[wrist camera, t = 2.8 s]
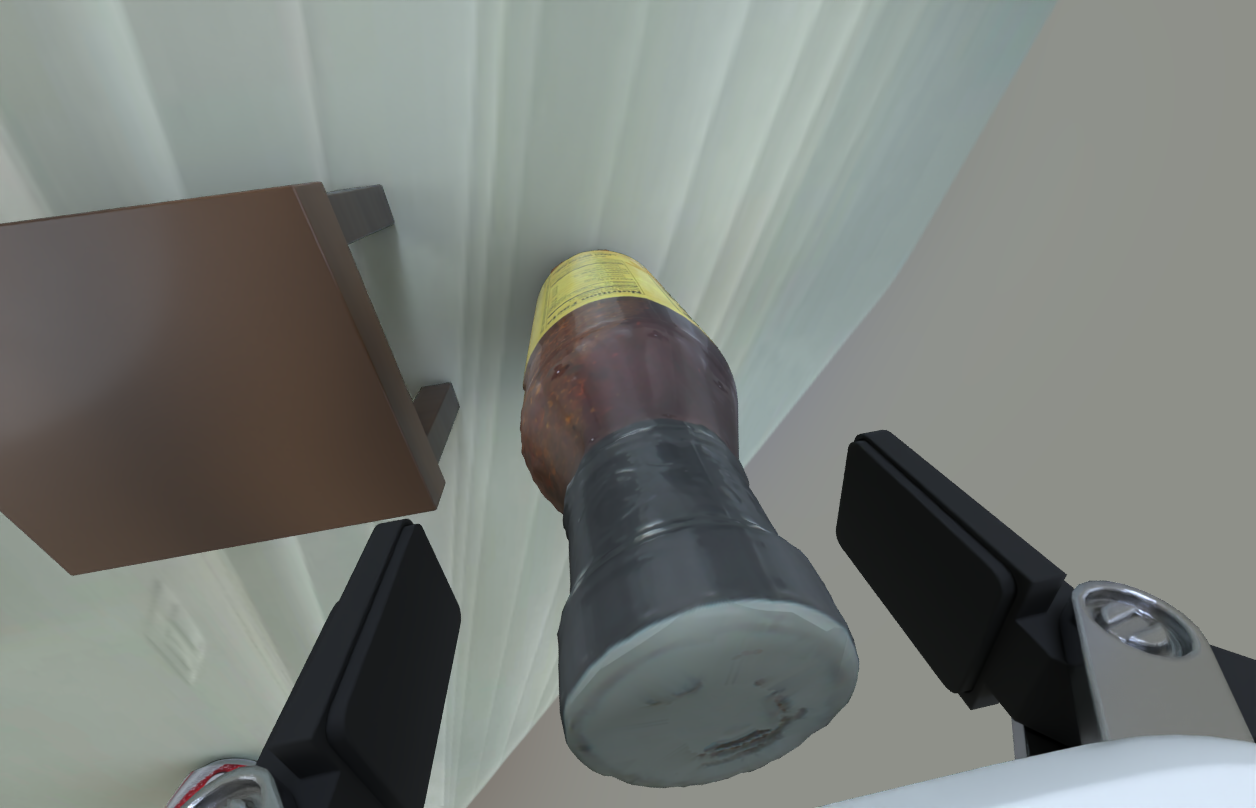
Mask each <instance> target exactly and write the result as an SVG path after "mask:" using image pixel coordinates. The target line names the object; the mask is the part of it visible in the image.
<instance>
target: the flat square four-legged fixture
mask: <svg viewBox="0 0 1256 808" xmlns="http://www.w3.org/2000/svg"><path fill="white" fill-rule="evenodd" d="M394 223H395V222H394V219H393V216H392V213H391V210H390V207H389V205H388V202H387V199H386V196H385V193H384V190H383V188H382V186H381V185H372V186H365V187H357V188H350V189H343V190H338V191H332V192H327V193H326V191H325V189H324V186H323V184H322V183H321V182H319V181H318V182H310V183H303V184H295V185H287V186H280V187H272V188H265V189H257V190H250V191H242V192H235V193H227V194H220V195H212V196H205V197H197V198H190V199H182V200H175V201H167V202H160V203H152V204H145V205H137V206H130V207H122V208H115V209H107V210H100V211H92V212H85V213H77V214H70V215H62V216H55V217H47V218H40V219H32V220H25V221H17V222H10V223H2V224H0V511H1V512H2V513H3V514H4V515H5V516H6V517H7V518H8V519H10V520H11V521H12V522H13V523H14V524H15V525H16V526H17V527H18V528H19V529H21V530H22V531H23V532H24V533H25V534H26V535H27V536H28V537H29V538H30V539H32V540H33V541H34V542H35V543H36V544H37V545H38V546H39V547H40V548H42V549H43V550H44V551H45V552H46V553H47V554H48V555H49V556H50V557H51V558H53V559H54V560H55V561H56V562H57V563H58V564H59V565H60V566H61V567H62V568H64V569H65V570H66V571H67V572H68V573H69V574H70V575H72V576H74V575H79V574H85V573H90V572H96V571H102V570H107V569H113V568H118V567H124V566H129V565H135V564H140V563H146V562H151V561H157V560H163V559H168V558H174V557H179V556H185V555H190V554H196V553H201V552H207V551H212V550H218V549H224V548H229V547H235V546H240V545H246V544H251V543H257V542H262V541H268V540H273V539H279V538H284V537H290V536H296V535H301V534H307V533H312V532H318V531H323V530H329V529H334V528H340V527H345V526H351V525H357V524H362V523H368V522H373V521H379V520H384V519H390V518H395V517H401V516H406V515H412V514H418V513H423V512H429V511H434V510H436V509H437V507H438V504H439V501H440V498H441V495H442V492H443V489H444V486H445V480H444V477H443V475H442V472H441V470H440V468H439V465H438V463H439V461H440V458H441V455H442V453H443V450H444V447H445V445H446V442H447V440H448V437H449V434H450V432H451V429H452V426H453V424H454V421H455V418H456V416H457V413H458V410H459V408H460V406H459V403H458V400H457V397H456V395H455V392H454V389H453V386H452V383H444V384H437V385H431V386H425V387H422V388H421V389H420V391H419V393H418V395H417V396H416V398H415V400H414V402H412V400H411V397H410V395H409V392H408V390H407V388H406V385H405V383H404V380H403V378H402V375H401V373H400V371H399V368H398V366H397V363H396V361H395V359H394V356H393V354H392V351H391V349H390V346H389V344H388V342H387V339H386V337H385V334H384V332H383V329H382V327H381V325H380V322H379V320H378V317H377V315H376V312H375V310H374V308H373V305H372V303H371V300H370V298H369V295H368V293H367V291H366V288H365V286H364V283H363V281H362V278H361V276H360V274H359V271H358V269H357V266H356V264H355V262H354V259H353V257H352V254H351V252H350V249H349V247H348V244H350V243H353V242H355V241H357V240H359V239H361V238H364V237H366V236H368V235H370V234H373V233H375V232H377V231H379V230H381V229H384V228H386V227H388V226H390V225H392V224H394Z"/></svg>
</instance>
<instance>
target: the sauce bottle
mask: <svg viewBox="0 0 1256 808" xmlns="http://www.w3.org/2000/svg"><path fill="white" fill-rule="evenodd" d="M523 390H524V391H525V394H524V402H523V407H522V411H521V423H520V424H521V425H520V431H521V443H522V452H521V453H522V455H523V457H524V459H525V462H526V465H527V467H528V469H529V471H530V473H531V475H532V478H533V481H534V482H535V483H536V484H537V486H538V488H539V489H540V491H541V493H542V494H543V495H544V497H545V498H546V499H547V500H549V501H550V502H551V503H552V504H553V506H554V507H555V508H556V509H557V511H559V512H561V513H562V514H563V526H564V529H565V530H566V536H567V539H568V540H569V563H570V595H569V597H568V600H567V602H566V604H565V606H564V609H563V611H562V616H561V622H560V626H559V629H558V633H557V636H558V647H559V663H558V670H559V699H560V715H561V720H562V725H563V729H564V734H565V739H566V743H567V744H568V747H569V748H570V750H571V751H572V752H573V753H574V755H575V756H576V757H577V758H578V759H579V760H580V761H581V762H582V763H583V764H584V765H586V766H587V767H588V768H589V769H591V770H592V771H595V772H596V773H599V774H601V775H604V776H613V777H615V778H617V779H619V780H621V781H624V782H626V783H629V784H632V785H638V786H646V787H654V788H655V787H656V788H667V787H686V786H690V785H703V784H707V783H711V782H716V781H720V780H724V779H728V778H730V777H733V776H735V775H737V774H740V773H745V772H751V771H754V770H756V769H758V768H761V767H763V766H765V765H766V764H768V763H769V762H771V761H774V760H776V759H779V758H781V757H782V756H783V755H785V754H787V753H788V752H790V751H792V750H793V749H794V748H796V747H798V746H799V745H801V744H802V743H803V742H804V741H805V740H806V739H807V738H808V737H809V736H810V735H811V734H813V733H815V732H816V731H818V730H820V729H821V728H823V727H825V726H827V725H828V724H829V723H830V721H831V720H832V719H833V718H834V717H835V716H836V714H837V713H838V712H839V711H840V710H841V709H842V708H843V707H844V706H845V705H846V704H847V703H848V702H849V700H850V698H851V696H852V693H853V692H854V689H855V686H856V682H857V677H858V672H859V658H858V655H857V651H856V647H855V643H854V639H853V637H852V635H851V632H850V630H849V628H848V625H847V623H846V622H845V620H844V619H843V617H842V615H841V614H840V612H839V610H838V609H837V607H836V606H835V604H834V602H833V599H832V597H831V595H830V594H829V592H828V590H827V588H826V587H825V584H824V583H823V581H822V580H821V579H820V577H819V575H818V574H817V572H816V571H815V569H814V568H813V566H812V564H811V563H810V562H809V560H808V558H807V557H806V556H805V555H804V554H803V553H802V552H801V551H800V550H799V549H797V548H796V547H794V546H793V545H791V544H790V543H788V542H787V541H786V540H785V539H783V538H782V537H780V536H778V534H777V532H776V530H775V529H774V527H773V526H772V524H771V522H770V521H769V519H768V517H767V516H766V514H765V512H764V511H763V509H762V507H761V505H760V504H759V502H758V500H757V498H756V497H755V496H754V494H753V492H752V491H751V490H750V488H749V481H748V478H747V476H746V474H745V472H744V469H743V467H742V465H741V463H740V461H739V444H738V398H737V390H736V385H735V382H734V378H733V375H732V373H731V370H730V368H729V365H728V363H727V362H726V360H725V358H724V357H723V355H722V354H721V352H720V350H719V349H718V347H717V346H716V345H715V344H714V343H713V341H712V340H711V339H710V338H709V337H708V336H707V335H706V333H705V332H704V331H703V330H702V329H701V328H700V327H699V325H698V324H697V323H696V322H694V321H693V320H692V318H691V317H690V316H689V315H688V314H687V313H686V311H685V310H684V309H683V308H682V307H681V306H680V305H679V304H678V303H677V302H676V301H675V300H674V299H673V298H672V297H671V295H670V294H669V293H668V292H667V291H666V290H665V289H664V288H663V287H662V285H661V284H660V283H659V282H658V281H657V280H656V279H655V278H654V277H653V276H652V275H651V274H650V272H649V271H648V270H647V269H646V268H645V267H643V266H642V265H641V264H640V263H639V262H637V261H636V260H634V259H632V258H630V257H628V256H626V255H623V254H620V253H616V252H611V251H608V250H596V251H588V252H582V253H579V254H577V255H575V256H573V257H571V258H569V259H567V260H566V261H564V262H561V263H560V264H559V265H558V266H556V267H555V268H554V269H553V270H552V271H551V274H550V275H549V277H548V278H547V279H546V281H545V283H544V284H543V286H542V288H541V291H540V293H539V296H538V299H537V304H536V309H535V316H534V321H533V326H532V332H531V338H530V344H529V349H528V355H527V361H526V367H525V372H524V380H523Z"/></svg>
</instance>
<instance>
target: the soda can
mask: <svg viewBox="0 0 1256 808" xmlns="http://www.w3.org/2000/svg"><path fill="white" fill-rule="evenodd" d="M256 763H257V762H256V761H252V760H247V759H223V760H218V761H215V762H212V763H210V764H208V765H207V766H205V767H202V768H199V769H197V770H195V771H193V772H191V773H189V774H188V775H187V776H186V777H185V779H184V780H183V782H182V783H181V784H180V786H179V787H178V789H177V790H176V792H175V793H174V794H173V796H172V797H171V799H170V800H169V802H168V803H167V805H166V806H165V808H180V807H181V806H182V805H183V804H184V803H185V802H186V801H187V800H188V799H190V798H191V797H192V796H193V795H194V794H195V793H196V792H197V791H199V790H200V789H201V788H202V787H204V786H205V785H207V784H208V783H210V782H211V781H213V780H214V779H216V778H217V777H219V776H220V775H222V774H224V773H227V772H229V771H231V770H234V769H236V768H238V767H243V766H251V765H256Z"/></svg>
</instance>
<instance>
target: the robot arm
mask: <svg viewBox="0 0 1256 808" xmlns="http://www.w3.org/2000/svg"><path fill="white" fill-rule="evenodd" d="M836 536H837V539H838V542H839V544H840V546H841V547H842V549H843V550H844V551H845V552H846V554H847V555H848V557H849V558H850V559H851V561H852V562H853V563H854V565H855V566H856V567H857V569H858V570H859V572H860V573H861V574H862V576H863V577H864V578H865V580H866V581H867V582H868V584H869V585H870V586H871V588H872V589H873V590H874V592H875V593H876V594H877V596H878V597H879V598H880V600H881V601H882V602H883V604H884V605H885V606H886V608H887V609H888V610H889V612H890V613H891V615H892V616H893V617H894V619H895V620H896V621H897V623H898V624H899V625H900V627H901V628H902V629H903V631H904V632H905V633H906V635H907V636H908V637H909V639H910V640H911V641H912V643H913V644H914V646H915V647H916V648H917V649H918V651H919V652H920V654H921V655H922V656H923V658H924V659H925V660H926V662H927V663H928V664H929V666H930V667H931V668H932V670H933V671H934V672H935V674H936V675H937V676H938V678H939V679H940V680H941V682H942V683H943V684H944V685H945V687H946V688H947V689H949V690H950V691H951V692H953V693H958V694H959V695H960V697H961V698H962V699H963V700H964V702H965V703H966V704H967V706H968V707H969V708H970V710H973V709H977V708H981V707H986V706H990V705H995V704H998V703H1000V704H1001V705H1002V706H1003V707H1004V709H1005V710H1006V711H1007V712H1008V714H1009V715H1010V716H1011V718H1012V729H1013V741H1014V752H1015V760H1012V761H1008V762H1003V763H999V764H994V765H990V766H986V767H981V768H977V769H973V770H969V771H965V772H961V773H957V774H952V775H948V776H944V777H940V778H936V779H932V780H928V781H923V782H919V783H915V784H911V785H907V786H902V787H898V788H894V789H890V790H886V791H882V792H878V793H873V794H870V795H865V796H861V797H857V798H852V799H849V800H844V801H840V802H836V803H832V804H828V805H824V806H820V807H816V808H1256V660H1254V659H1251V658H1248V657H1245V656H1242V655H1239V654H1236V653H1233V652H1230V651H1227V650H1224V649H1221V648H1218V647H1215V646H1212V645H1209V643H1208V641H1207V639H1206V638H1205V636H1204V635H1203V633H1202V632H1201V631H1200V629H1199V628H1198V627H1197V626H1196V625H1195V624H1194V623H1193V622H1192V621H1191V620H1190V619H1189V618H1187V617H1186V616H1185V615H1184V614H1183V613H1181V612H1180V611H1179V610H1177V609H1176V608H1174V607H1173V606H1171V605H1170V604H1168V603H1166V602H1165V601H1163V600H1161V599H1159V598H1157V597H1155V596H1153V595H1151V594H1149V593H1147V592H1145V591H1142V590H1139V589H1137V588H1134V587H1130V586H1128V585H1125V584H1120V583H1115V582H1110V581H1088V582H1085V583H1082V584H1079V585H1078V586H1077V587H1076V588H1075V589H1073V587H1071V586H1070V585H1069V584H1068V583H1066V582H1065V581H1064V579H1065V577H1066V575H1067V574H1065V573H1064V572H1063V571H1062V570H1060V569H1059V568H1058V567H1057V566H1055V565H1054V564H1053V563H1052V562H1050V561H1049V560H1048V559H1046V557H1044V556H1043V555H1042V554H1041V553H1039V552H1038V551H1037V550H1036V549H1034V548H1033V547H1032V546H1030V545H1029V544H1028V543H1027V542H1026V541H1024V540H1023V539H1022V538H1021V537H1019V536H1018V535H1017V534H1016V533H1015V532H1013V531H1012V530H1011V529H1010V528H1008V527H1007V526H1006V525H1005V524H1003V523H1002V522H1001V521H1000V520H999V519H997V518H996V517H995V516H994V515H992V514H991V513H990V512H989V511H987V510H986V509H985V508H984V507H982V506H981V505H980V504H979V503H977V502H976V501H975V500H974V499H972V498H971V497H970V496H969V495H967V494H966V493H965V492H964V491H963V490H961V489H960V488H959V487H958V486H956V485H955V484H954V483H952V481H950V480H949V479H948V478H947V477H945V476H944V475H943V474H942V473H940V472H939V471H938V470H936V469H935V468H934V467H933V466H932V465H930V464H929V463H928V462H927V461H925V460H924V459H923V458H922V457H921V456H919V455H918V454H917V453H916V452H914V451H913V450H912V449H911V448H909V447H908V446H907V445H906V444H904V443H903V442H902V441H901V440H899V439H898V438H897V437H896V436H894V435H893V434H892V433H891V432H889V431H887V430H879V431H874V432H869V433H863V434H859V435H857V436H856V438H855V440H854V442H852V443H850V445H849V447H848V453H847V460H846V466H845V473H844V480H843V486H842V493H841V499H840V506H839V512H838V519H837V526H836ZM460 623H461V613H460V608H459V605H458V603H457V601H456V598H455V596H454V594H453V592H452V590H451V588H450V585H449V583H448V581H447V579H446V577H445V575H444V573H443V570H442V568H441V566H440V564H439V562H438V560H437V558H436V555H435V553H434V551H433V549H432V547H431V545H430V543H429V540H428V538H427V536H426V534H425V532H424V530H423V528H422V526H421V525H420V524H413V523H412V521H411V520H409V519H402V520H397V521H391V522H386V523H381V524H378V525H377V526H376V527H375V528H374V530H373V532H372V534H371V536H370V538H369V540H368V542H367V544H366V546H365V548H364V551H363V553H362V555H361V557H360V559H359V561H358V563H357V565H356V567H355V569H354V571H353V573H352V575H351V577H350V579H349V581H348V584H347V586H346V588H345V590H344V592H343V594H342V596H341V598H340V600H339V601H338V602H337V603H336V604H335V606H334V607H333V609H332V610H331V612H330V614H329V616H328V618H327V620H326V622H325V624H324V626H323V629H322V631H321V633H320V635H319V637H318V639H317V641H316V643H315V645H314V647H313V649H312V651H311V653H310V655H309V657H308V659H307V661H306V663H305V665H304V667H303V669H302V671H301V673H300V675H299V677H298V679H297V681H296V683H295V685H294V687H293V689H292V692H291V694H290V696H289V698H288V700H287V702H286V704H285V706H284V708H283V710H282V712H281V714H280V716H279V718H278V720H277V722H276V724H275V726H274V728H273V730H272V732H271V734H270V736H269V738H268V740H267V742H266V744H265V746H264V748H263V750H262V752H261V755H260V757H259V759H258V761H257V763H256V765H251V766H243V767H238V768H236V769H234V770H231V771H229V772H227V773H224V774H222V775H220V776H219V777H217V778H216V779H214V780H213V781H211V782H210V783H208V784H207V785H205V786H204V787H202V788H201V789H200V790H199V791H197V792H196V793H195V794H194V795H193V796H192V797H191V798H190V799H188V800H187V801H186V802H185V803H184V804H183V805H182V806H181V807H180V808H424V804H425V799H426V794H427V789H428V784H429V779H430V774H431V769H432V764H433V759H434V754H435V749H436V744H437V739H438V734H439V729H440V724H441V719H442V714H443V709H444V704H445V699H446V694H447V689H448V684H449V679H450V674H451V669H452V664H453V659H454V654H455V649H456V644H457V639H458V634H459V629H460Z"/></svg>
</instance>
